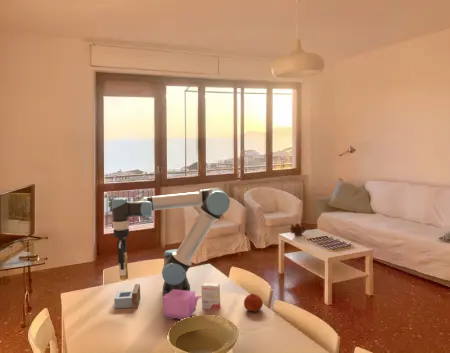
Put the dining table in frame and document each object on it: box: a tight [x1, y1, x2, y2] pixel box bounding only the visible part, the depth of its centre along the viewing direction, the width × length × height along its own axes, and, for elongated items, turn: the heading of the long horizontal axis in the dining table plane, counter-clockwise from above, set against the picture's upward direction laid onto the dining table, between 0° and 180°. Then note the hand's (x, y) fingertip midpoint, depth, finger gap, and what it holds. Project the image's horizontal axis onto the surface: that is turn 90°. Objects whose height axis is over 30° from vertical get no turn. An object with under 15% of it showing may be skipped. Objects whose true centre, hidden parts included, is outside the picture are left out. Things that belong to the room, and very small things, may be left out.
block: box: [113, 290, 133, 309], centre depth 190 cm, size 9×9×5 cm
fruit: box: [243, 293, 264, 313], centre depth 180 cm, size 9×9×8 cm
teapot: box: [162, 289, 202, 321], centre depth 175 cm, size 20×10×12 cm, turn 71°
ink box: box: [200, 281, 221, 310], centre depth 184 cm, size 9×5×12 cm, turn 79°
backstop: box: [132, 283, 141, 310], centre depth 191 cm, size 2×12×8 cm, turn 6°
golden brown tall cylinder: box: [118, 252, 129, 281], centre depth 188 cm, size 4×4×13 cm
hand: (123, 273), depth 189 cm, fingers closed on golden brown tall cylinder, 4 cm apart
